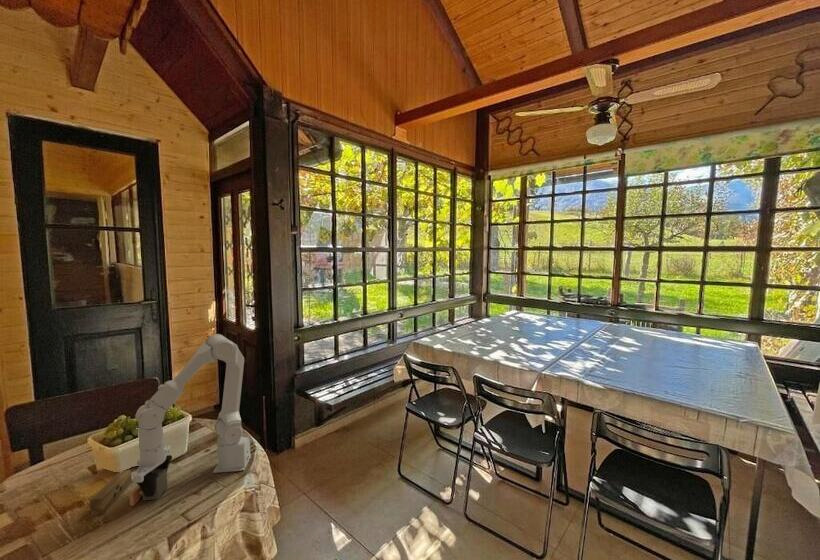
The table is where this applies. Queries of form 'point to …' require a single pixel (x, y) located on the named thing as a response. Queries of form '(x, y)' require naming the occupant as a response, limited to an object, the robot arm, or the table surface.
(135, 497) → the orange flat block
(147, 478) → the robot arm
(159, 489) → the plug
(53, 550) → the table surface
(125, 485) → the socket housing
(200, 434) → the table surface
